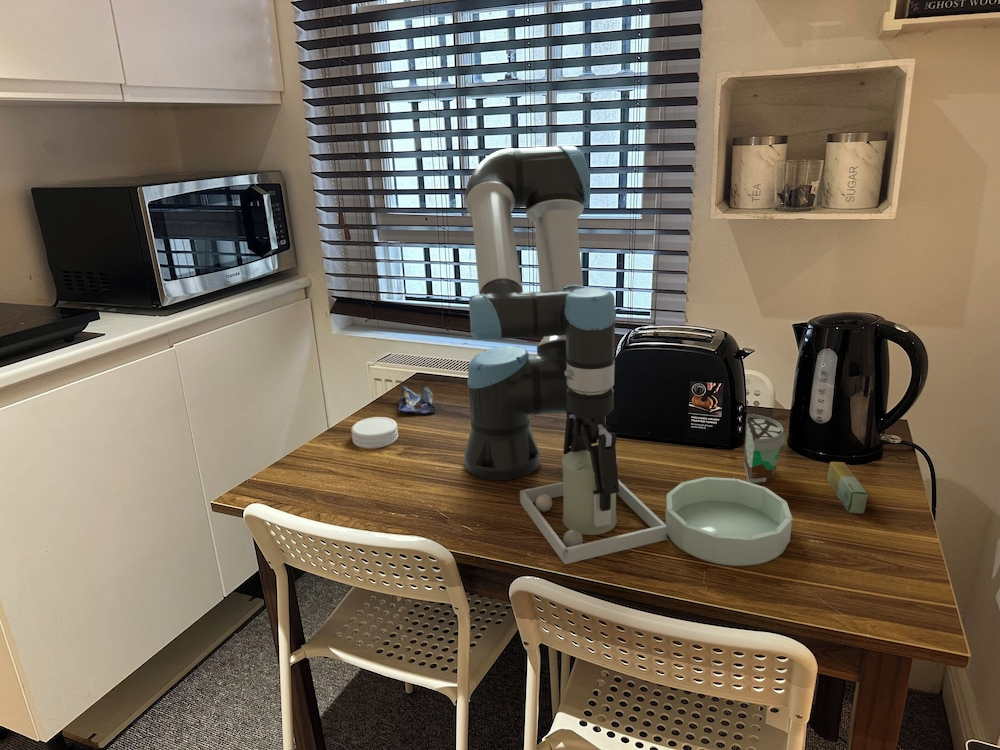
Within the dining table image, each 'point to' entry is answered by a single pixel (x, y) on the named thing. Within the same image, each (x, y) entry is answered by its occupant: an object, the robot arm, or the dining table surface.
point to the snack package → (411, 399)
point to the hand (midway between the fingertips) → (589, 510)
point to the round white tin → (374, 432)
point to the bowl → (728, 521)
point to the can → (582, 495)
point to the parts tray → (600, 546)
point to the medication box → (847, 487)
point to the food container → (762, 448)
